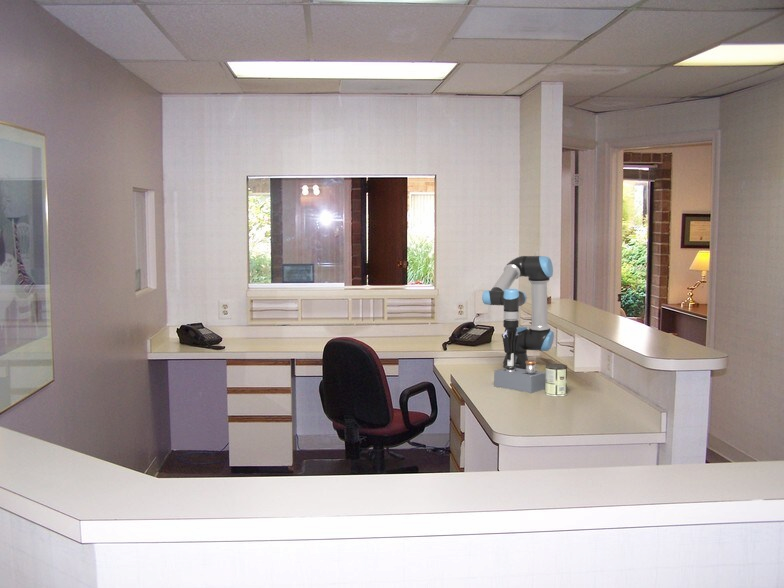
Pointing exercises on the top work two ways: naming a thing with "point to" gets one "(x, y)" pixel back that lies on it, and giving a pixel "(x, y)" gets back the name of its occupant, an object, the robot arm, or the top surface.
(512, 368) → the dark-lidded glass jar
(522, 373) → the block
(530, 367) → the plunger orange
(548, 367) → the coffee can
